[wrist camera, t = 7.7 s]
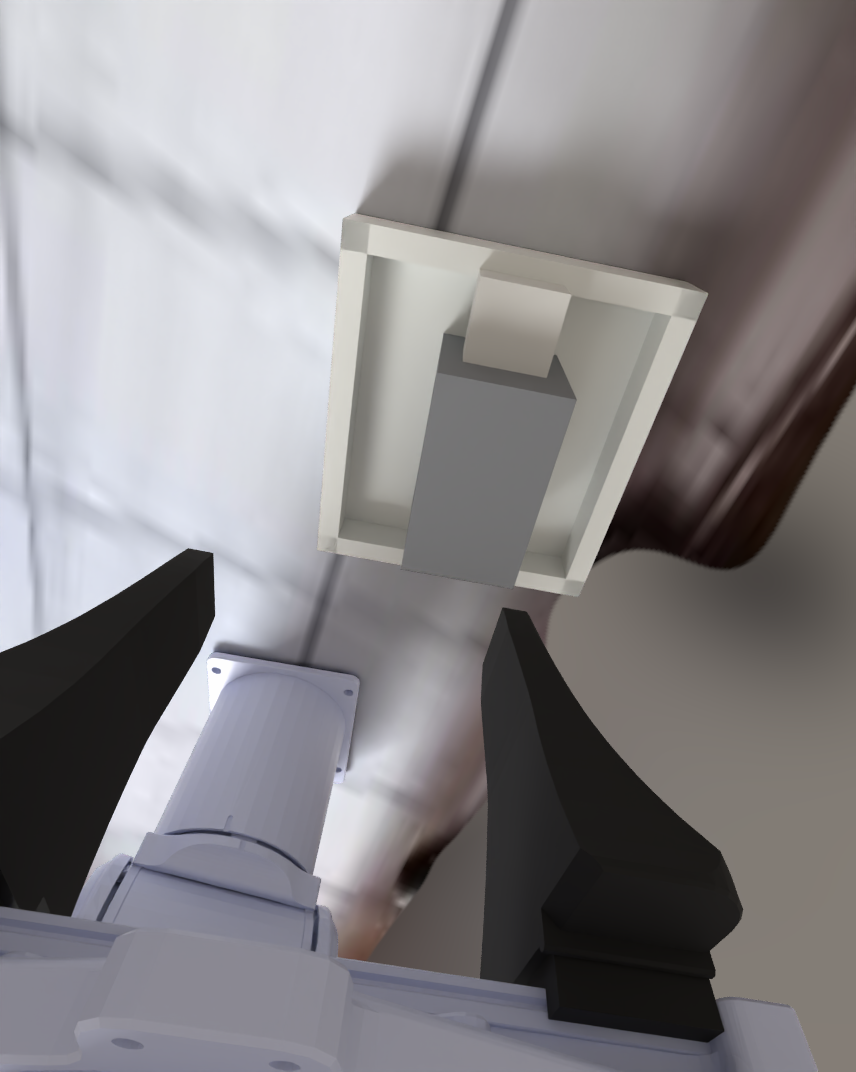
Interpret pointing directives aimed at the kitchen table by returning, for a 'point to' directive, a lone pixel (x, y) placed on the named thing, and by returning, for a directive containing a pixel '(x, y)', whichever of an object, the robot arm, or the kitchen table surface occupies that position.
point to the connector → (491, 434)
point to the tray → (410, 369)
